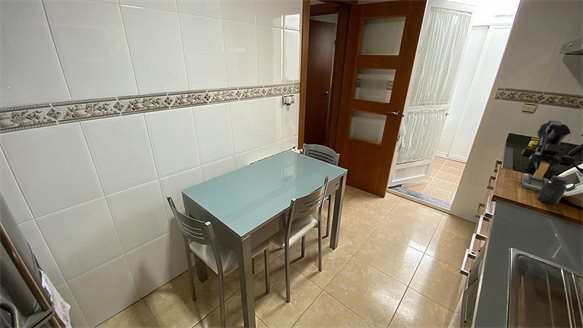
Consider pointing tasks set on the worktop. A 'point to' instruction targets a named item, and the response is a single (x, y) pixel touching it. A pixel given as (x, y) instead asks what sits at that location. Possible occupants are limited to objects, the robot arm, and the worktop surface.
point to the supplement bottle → (553, 190)
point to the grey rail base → (532, 182)
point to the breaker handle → (540, 172)
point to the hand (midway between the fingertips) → (541, 170)
